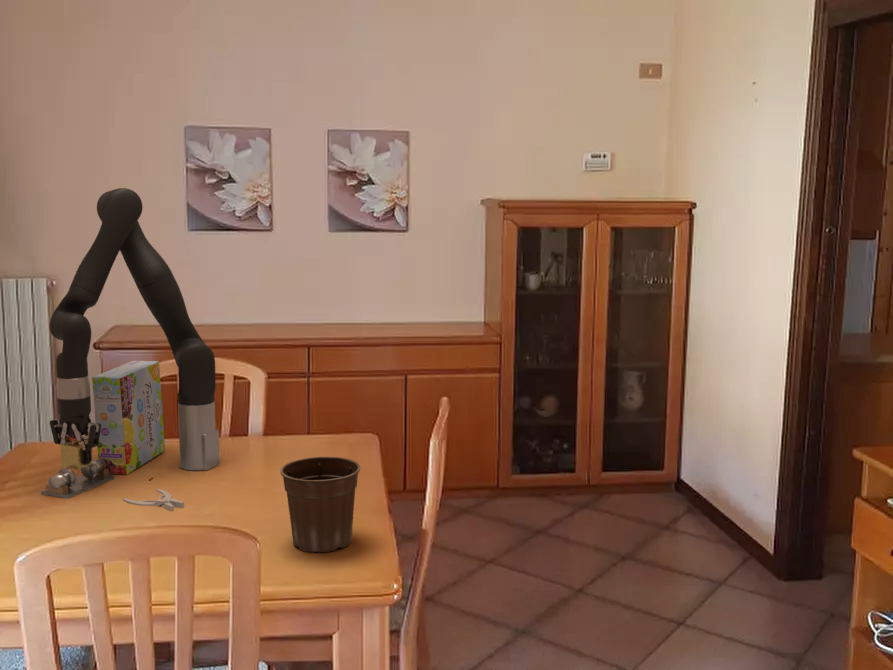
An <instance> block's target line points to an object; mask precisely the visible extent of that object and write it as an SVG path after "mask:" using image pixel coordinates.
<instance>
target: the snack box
mask: <svg viewBox="0 0 893 670" xmlns="http://www.w3.org/2000/svg"><path fill="white" fill-rule="evenodd" d="M91 384H92V396H93V406H94V408H93V409H94V419H95V420H94V421H95V424H97V423H100V424H101V430H100V437H99V444H98V446H96V447H97V448H96V449H97V459H98V458H102V459H103V460H104V461H105V463H106V469H109V475H123V476H128V475H129V474H131V473H132V472H134V471H135V470H137V469H138V468H140V467H141V466H143V465H145V464H146V463H148V462H149V461H151V460H152V459H154V458H156V457H157V456H158V455H159V456H160V454H162V453H163V452H165V451H166V443H165V442H166V441H165V440H166V439H165V428H164V414H163V400H162V387H161V386H162V385H161V370H160V361H159V360H158V361H156V360H150V361H149V360H132V361H129V362H126V363H124V364H122V365H119V366H117V367H115V368H114V367H113V368H112V369H109V370H107V371H105V372H102V373H100V374H99V373H98V374H97V375H95V376H92V377H91Z"/></svg>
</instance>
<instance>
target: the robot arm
mask: <svg viewBox="0 0 893 670" xmlns="http://www.w3.org/2000/svg"><path fill="white" fill-rule="evenodd" d="M96 212H97V216H98V217H99V219H100V221H101V224H100V228H99V230H98V232H97V236H96V237H95V239H94V241H93V243H92V245H91V247H89V250H88V251H87V253H86V254H85V255H84V257H83V259H82V260H81V262H80V264H79V266H78V267H77V270H76V272H75V274H74V277H73V279H72V281H71V284H70V285H69V288H68V290H67V293H66V294H65V295H64V297H62V299H61V301H60V302H59V304H58V305H57V307H56V308H55V309H54V310H53V313H52V315H51V317H50V321H49V332H50V334H51V335H52V336H53V338H55V339H57V340H60V341H62V349H61V350H62V351H61V352H60V353H58V354H57V356H56V360H55V361H56V362H55V368H56V369H55V370H56V371H55V372H56V385H55V387H56V404H57V407H56V408H57V409H56V410H57V414H58V416H59V418H54V419H52V420H50V421H49V425H50V426H49V427H50V431H51V434H52V439H53V442H54V445H59V446H60V445H62V444H64V443H67V442H70V441H69V437H70V436H75V437H76V438H77V441H78V442H80V445H81V448H82V464H83V465H87V464H90V462H91V460H92V457H93V452H92V453H91V449H92V450H93V448H95V447H97V446H98V444H99V437H100V430H101V424H100V423H97V424H96V422H95V423H94V422H92V420H91V418H90V415H91V412H92V403H91V402H92V400H91V383H90V378H89V367H88V366H89V365H88V355H89V352H90V347H91V342H92V327H91V323H90V321H89V319H88V318H87V317H86V316H85V313H86V312H87V310H88V309H90V308H93V307H94V306H96V305H97V303H98V301H99V299H100V297H101V295H102V292H103V290H104V287H105V285H106V282H107V280H108V277H109V275H110V273H111V270H112V268H113V266H114V263H115V261H116V259H117V256H118V254H119V253H121V255H122V258H123V261H124V262H125V265H126V267H127V268H128V270H129V273H130V275H131V276H132V278H133V281H134V282H135V285H136V288H137V290H138V292H139V294H140V296H141V298H142V299H143V301H144V303H145V304H146V306H147V309H148V310H149V311H150V312H151V314H152V316H153V318H154V319H155V320H156V322H157V323H158V324H159V326H160V327H161V330H163V331H162V332H164V335H165V337H166V339H167V342H168V344H169V347H170V349H171V351H172V355H173V358H174V362H175V364H176V366H177V368H178V372H177V373H178V391H177V406H178V407H177V410H178V415H177V416H178V436H179V437H178V439H179V441H178V442H179V462H180V463H179V466H180V469H183V470H186V471H208V470H210V469H212V468H214V467H216V466H219V465H220V464H221V463H220V461H221V460H220V433H219V432H220V431H219V429H217V428H216V408H215V407H216V406H215V393H216V386H217V385H216V384H217V383H216V357H215V354H214V352H213V350H212V349H211V348H210V347H209V346H208V344H207V343H205V342H204V340H203V338H202V337H201V336H200V334H199V333H198V331H197V329H196V328H195V326H194V324H193V321H192V320H191V318H190V316H189V314H188V310H187V306H186V303H185V302H186V301H185V299H184V297H183V294H182V291H181V288H180V286H179V283H178V282H177V280H176V278H175V276H174V274H173V272H172V269H171V268H170V266H169V265H168V263H167V262H166V261H165V260H164V258H163V257H162V256H161V254H160V253H159V252H158V251H157V250H156V249H155V248H154V246H153V245H152V244H151V243H150V242H149V240H148V239H147V237H146V236H145V234H144V231H143V230H142V227H141V225H140V223H139V220H140V217H141V216H142V213H143V202H142V199H141V197H140V196H139V194H138V193H137V192H136V191H134V190H132V189H130V188H127V187H122V188H114V189H112V190H108V191H105V192H104V193H102V194H101V195H100V196H99V197H98V200H97V203H96ZM82 436H83V437H82ZM85 441H86V443H85ZM91 455H92V456H91Z"/></svg>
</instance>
